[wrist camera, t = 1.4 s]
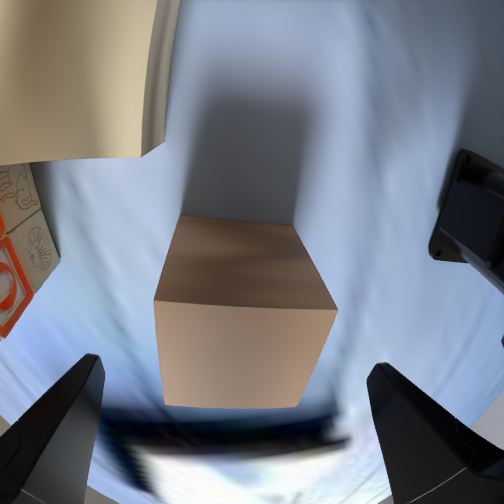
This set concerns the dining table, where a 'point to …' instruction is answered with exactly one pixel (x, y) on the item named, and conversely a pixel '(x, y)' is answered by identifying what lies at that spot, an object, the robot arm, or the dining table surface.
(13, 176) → the stack of blocks
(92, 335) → the dining table surface
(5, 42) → the birch block
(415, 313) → the dining table surface
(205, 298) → the walnut cube
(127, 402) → the dining table surface
